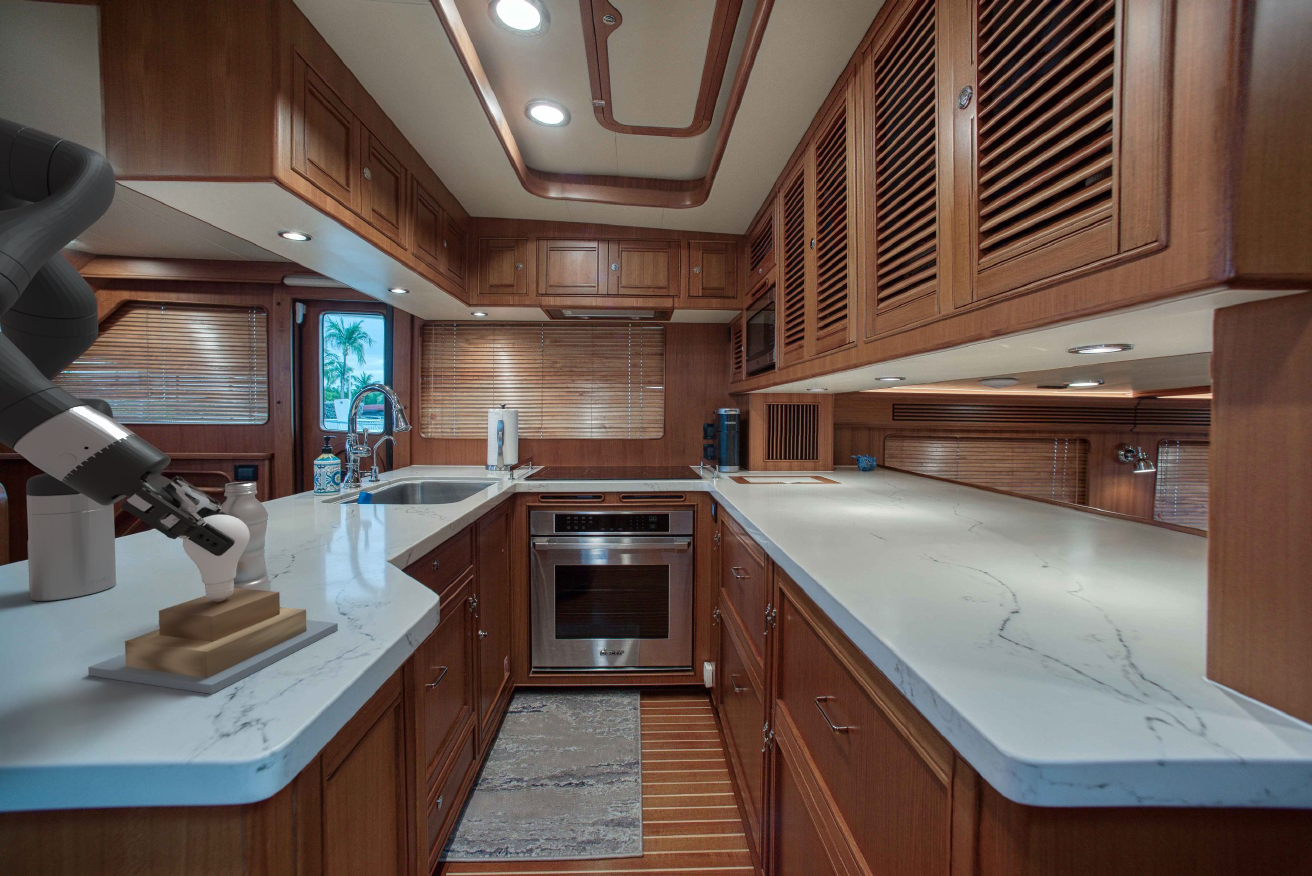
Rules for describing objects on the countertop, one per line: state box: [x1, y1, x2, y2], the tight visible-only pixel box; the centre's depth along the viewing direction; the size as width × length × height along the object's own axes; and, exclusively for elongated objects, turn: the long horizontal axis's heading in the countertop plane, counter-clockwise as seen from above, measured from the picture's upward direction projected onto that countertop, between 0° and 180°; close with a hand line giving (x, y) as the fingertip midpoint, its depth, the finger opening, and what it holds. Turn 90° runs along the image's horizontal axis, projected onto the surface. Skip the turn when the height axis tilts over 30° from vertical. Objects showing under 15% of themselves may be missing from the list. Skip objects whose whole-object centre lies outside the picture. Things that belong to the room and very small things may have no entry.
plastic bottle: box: [220, 481, 272, 591], centre depth 73 cm, size 6×7×20 cm
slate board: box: [87, 619, 339, 695], centre depth 61 cm, size 18×16×1 cm
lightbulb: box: [182, 515, 250, 602], centre depth 59 cm, size 6×6×11 cm
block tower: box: [124, 588, 307, 678], centre depth 59 cm, size 12×12×6 cm
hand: (234, 541), depth 60 cm, fingers open, 8 cm apart
